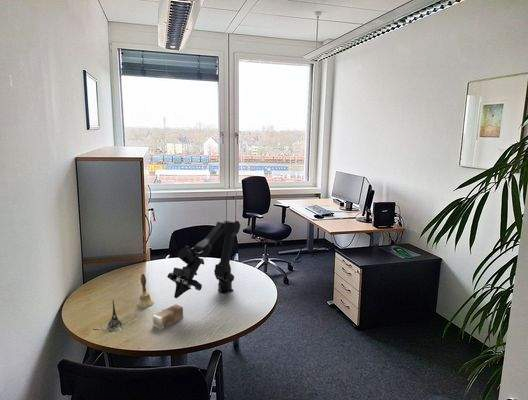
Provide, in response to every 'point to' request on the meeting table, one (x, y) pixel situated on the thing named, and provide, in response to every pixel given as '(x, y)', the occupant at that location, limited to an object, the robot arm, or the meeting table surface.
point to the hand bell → (144, 295)
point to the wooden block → (167, 316)
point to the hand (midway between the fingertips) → (175, 297)
